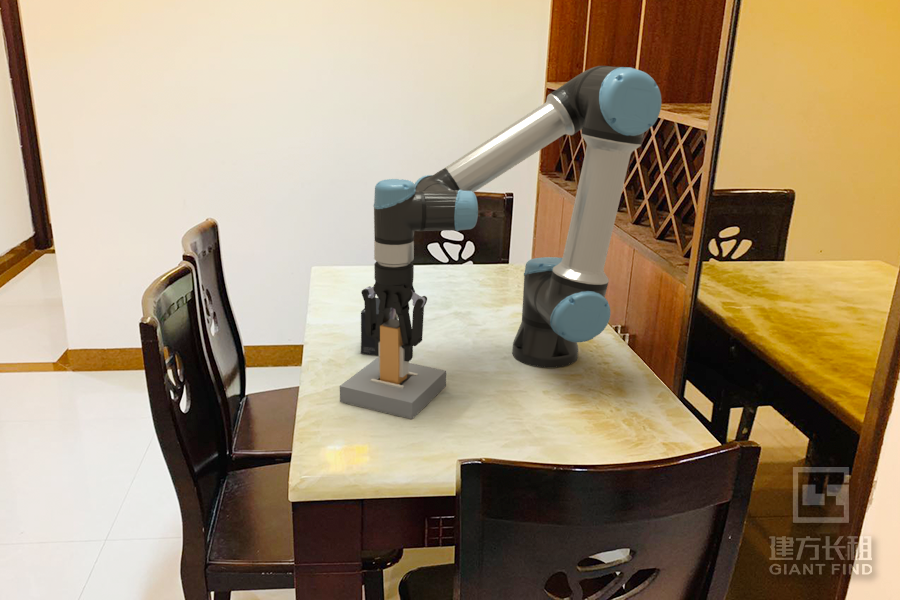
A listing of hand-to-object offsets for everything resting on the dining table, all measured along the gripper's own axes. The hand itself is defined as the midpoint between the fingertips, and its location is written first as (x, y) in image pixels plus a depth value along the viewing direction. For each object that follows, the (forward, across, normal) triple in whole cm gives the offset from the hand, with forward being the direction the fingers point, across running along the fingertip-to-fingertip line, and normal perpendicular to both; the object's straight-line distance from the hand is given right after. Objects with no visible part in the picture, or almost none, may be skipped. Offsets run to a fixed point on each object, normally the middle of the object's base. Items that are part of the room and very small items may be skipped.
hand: (393, 372), depth 147 cm
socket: (+5, 0, 0) cm, 5 cm away
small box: (+5, +14, -20) cm, 25 cm away
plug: (+2, 0, 0) cm, 2 cm away
